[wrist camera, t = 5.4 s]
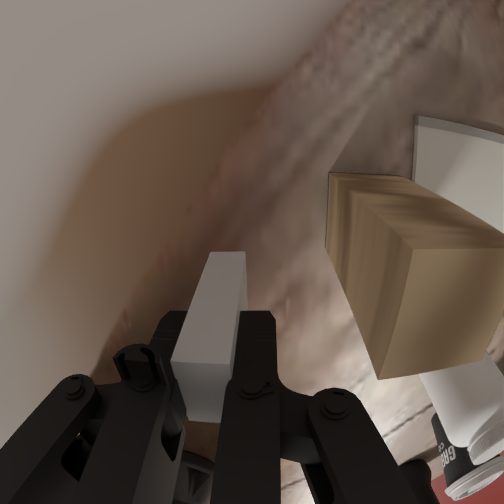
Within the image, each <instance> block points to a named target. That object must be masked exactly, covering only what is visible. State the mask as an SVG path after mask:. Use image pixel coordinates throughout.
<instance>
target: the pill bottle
mask: <svg viewBox="0 0 504 504" xmlns="http://www.w3.org/2000/svg"><path fill="white" fill-rule="evenodd" d="M419 376H420V378H421V380H422V382H423V384H424V386H425V388H426V390H427V393H428V395H429V397H430V399H431V401H432V403H433V405H434V408H435V410H436V412H437V414H438V417H439V419H440V421H441V423H442V426H443V428H444V430H445V433H446V435H447V437H448V439H449V441H450V442H451V443H452V444H453V445H454V446H456V447H468V448H467V450H468V452H469V456H470V458H471V461H472V463H473V464H474V465H479V464H481V463H484V462H486V461H488V460H489V459H491V458H493V457H494V456H496V455H497V454H499V453H500V452H501V451H502V450H504V376H503V374H502V373H501V371H500V370H499V368H498V367H497V365H496V364H495V363H494V361H493V360H492V358H491V357H490V356H489V354H488V353H487V351H486V352H485V354H484V356H483V358H482V360H479V361H476V362H472V363H468V364H464V365H459V366H455V367H450V368H446V369H441V370H436V371H431V372H426V373H420V374H419Z"/></svg>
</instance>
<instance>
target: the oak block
mask: <svg viewBox="0 0 504 504" xmlns="http://www.w3.org/2000/svg"><path fill="white" fill-rule="evenodd" d="M325 248H326V251H327V253H328V255H329V257H330V260H331V262H332V264H333V267H334V269H335V271H336V274H337V276H338V278H339V281H340V283H341V285H342V288H343V290H344V293H345V295H346V297H347V300H348V302H349V305H350V307H351V310H352V312H353V315H354V317H355V320H356V322H357V325H358V328H359V330H360V333H361V335H362V338H363V341H364V343H365V346H366V349H367V351H368V354H369V357H370V359H371V362H372V365H373V368H374V371H375V373H376V376H377V379H378V380H382V379H389V378H396V377H402V376H409V375H415V374H420V373H426V372H431V371H436V370H441V369H446V368H450V367H455V366H459V365H464V364H468V363H472V362H476V361H479V360H482V358H483V356H484V354H485V352H486V350H487V348H488V346H489V344H490V342H491V340H492V338H493V335H494V333H495V331H496V329H497V326H498V324H499V322H500V319H501V317H502V315H503V312H504V233H502V232H500V231H499V230H497V229H496V228H494V227H493V226H491V225H490V224H488V223H486V222H485V221H483V220H481V219H480V218H478V217H477V216H475V215H473V214H472V213H470V212H468V211H466V210H465V209H463V208H461V207H459V206H458V205H456V204H454V203H452V202H451V201H449V200H447V199H445V198H443V197H441V196H440V195H438V194H436V193H434V192H432V191H430V190H428V189H426V188H424V187H422V186H420V185H418V184H416V183H414V182H412V181H410V180H408V179H406V178H404V177H402V176H394V175H379V174H361V173H335V172H329V176H328V203H327V223H326V239H325Z"/></svg>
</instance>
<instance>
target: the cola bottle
mask: <svg viewBox="0 0 504 504" xmlns="http://www.w3.org/2000/svg"><path fill="white" fill-rule="evenodd" d="M399 468H400V470H401V472H402V473H403V475H404V477H405V479H406V480H407V482H408V484H409V486H410V487H411V489H412V491H413V493H414V494H415V496H416V498H417V500H418V501H419V503H420V504H440V503H439V501H438V499H437V497H436V495H435V493H434V491H433V489H432V487H431V470H430V468H429V466H428V464H427V463H426V462H425V461H423V460H415V461H411V462H408V463H406V464H404V465H402V466H400V467H399Z"/></svg>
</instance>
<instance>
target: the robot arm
mask: <svg viewBox="0 0 504 504" xmlns="http://www.w3.org/2000/svg"><path fill="white" fill-rule="evenodd" d="M247 310H248V296H247V276H246V255H245V251H243V252H210V255H209V257H208V260H207V262H206V265H205V267H204V270H203V273H202V275H201V278H200V281H199V283H198V286H197V289H196V291H195V294H194V297H193V299H192V302H191V305H190V307H189V310H188V311H169V312H168V313H167V314H166V315H165V316H163V317H162V318H161V320H160V322H159V324H158V326H157V328H156V330H155V333H154V335H153V339H151V341H150V343H149V345H146V344H133V345H130V346H127V347H124V348H123V349H121V350H120V351H118V352H117V353H116V354H115V356H114V357H113V360H114V362H115V365H116V367H117V369H118V372H119V374H120V376H121V378H122V380H121V382H119V383H114V384H105V385H95V384H94V382H93V380H92V379H91V378H90V377H88V376H86V375H82V374H76V375H72V376H69V377H66V378H65V379H63V380H62V381H61V382H60V383H59V384H58V385H57V386H56V387H55V388H54V389H53V390H52V391H51V393H50V394H49V395H48V396H47V397H46V398H45V399H44V400H43V401H42V402H41V403H40V405H39V406H38V407H37V408H36V409H35V410H34V411H33V413H32V414H31V415H30V416H29V417H28V418H27V419H26V420H25V421H24V422H23V424H22V425H21V426H20V427H19V428H18V429H17V430H16V432H15V433H14V434H13V435H12V436H11V437H10V439H9V440H8V441H7V442H6V443H5V444H4V446H3V447H2V448H1V449H0V504H208V503H209V501H210V504H281V471H280V458H283V459H287V460H291V461H295V462H299V463H300V464H301V467H302V470H303V472H304V475H305V478H306V480H307V483H308V486H309V488H310V491H311V494H312V496H313V499H314V502H315V504H420V503H419V501H418V500H417V498H416V496H415V494H414V493H413V491H412V489H411V487H410V486H409V484H408V482H407V480H406V479H405V477H404V475H403V473H402V472H401V470H400V468H399V466H398V465H397V463H396V461H395V459H394V458H393V456H392V454H391V452H390V451H389V449H388V447H387V445H386V444H385V442H384V440H383V439H382V437H381V435H380V433H379V432H378V430H377V428H376V427H375V425H374V423H373V421H372V420H371V418H370V416H369V415H368V413H367V411H366V410H365V408H364V406H363V405H362V403H361V401H360V400H359V399H358V398H357V397H356V395H355V394H353V393H351V392H349V391H348V390H346V389H340V388H328V389H324V390H322V391H319V392H317V393H316V394H315V395H314V396H308V395H304V394H299V393H296V392H293V391H291V390H290V389H288V388H286V387H285V386H284V385H283V384H282V383H281V381H280V379H279V377H278V372H277V343H276V319H275V318H274V317H273V315H272V314H271V312H270V311H247ZM186 413H187V416H188V419H189V421H198V422H212V423H221V424H220V431H219V438H218V446H217V453H216V460H215V464H213V463H212V462H210V461H208V460H207V459H204V458H202V457H200V456H197V455H195V454H192V453H188V452H185V451H183V446H184V442H185V437H186V429H185V427H184V424H183V423H184V418H185V414H186ZM79 433H80V435H78V434H79ZM77 435H78V436H77ZM76 436H77V437H76Z"/></svg>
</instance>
